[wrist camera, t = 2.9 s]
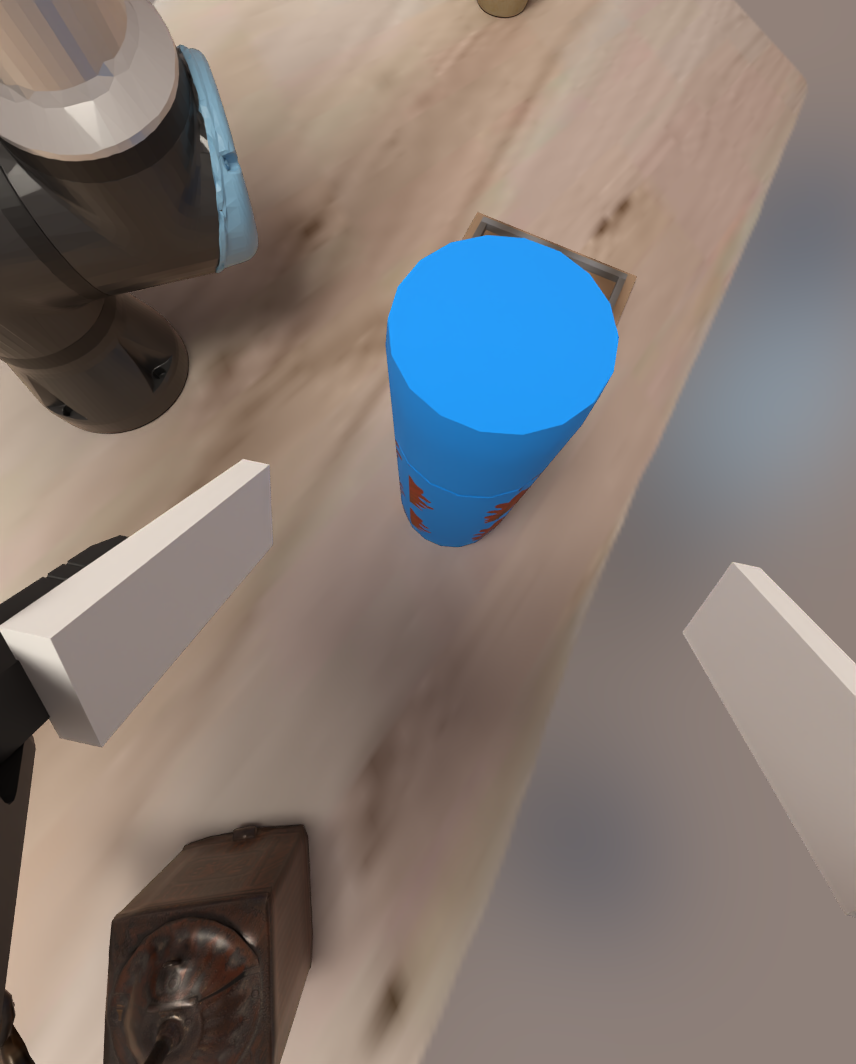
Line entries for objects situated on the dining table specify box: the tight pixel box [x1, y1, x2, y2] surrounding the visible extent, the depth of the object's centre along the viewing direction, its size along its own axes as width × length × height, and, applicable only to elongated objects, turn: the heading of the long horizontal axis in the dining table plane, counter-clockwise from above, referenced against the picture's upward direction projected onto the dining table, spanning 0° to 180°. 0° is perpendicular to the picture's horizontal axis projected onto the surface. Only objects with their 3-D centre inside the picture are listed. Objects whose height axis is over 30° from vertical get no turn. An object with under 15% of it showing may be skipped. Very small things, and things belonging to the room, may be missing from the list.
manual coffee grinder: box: [0, 825, 312, 1064], centre depth 25 cm, size 16×11×18 cm
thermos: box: [386, 235, 619, 547], centre depth 30 cm, size 11×11×25 cm
